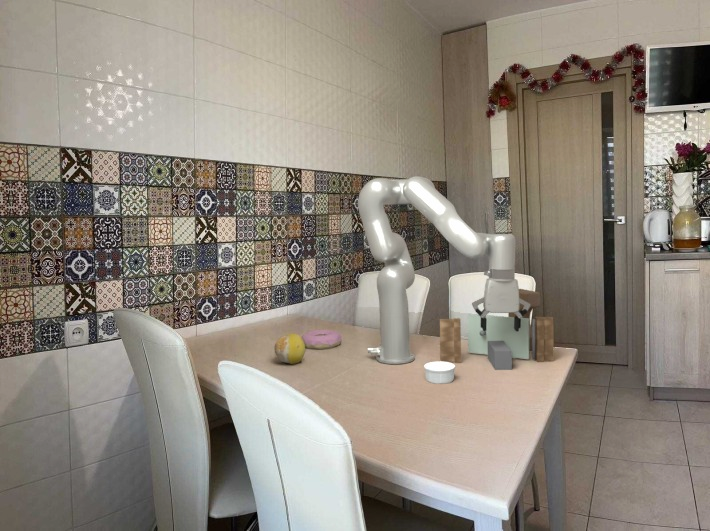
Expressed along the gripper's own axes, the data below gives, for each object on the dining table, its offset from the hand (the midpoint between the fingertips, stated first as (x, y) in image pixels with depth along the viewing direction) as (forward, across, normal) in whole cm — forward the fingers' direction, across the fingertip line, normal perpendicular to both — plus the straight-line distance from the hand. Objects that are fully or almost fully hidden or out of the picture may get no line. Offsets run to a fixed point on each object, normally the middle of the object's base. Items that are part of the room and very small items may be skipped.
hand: (500, 330), depth 159 cm
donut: (+14, -60, +32) cm, 69 cm away
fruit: (+14, -67, +8) cm, 69 cm away
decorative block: (+12, +13, +24) cm, 29 cm away
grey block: (+12, +1, +4) cm, 13 cm away
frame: (+12, 0, +7) cm, 14 cm away
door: (+11, +2, +11) cm, 16 cm away
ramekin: (+12, -19, -11) cm, 26 cm away
